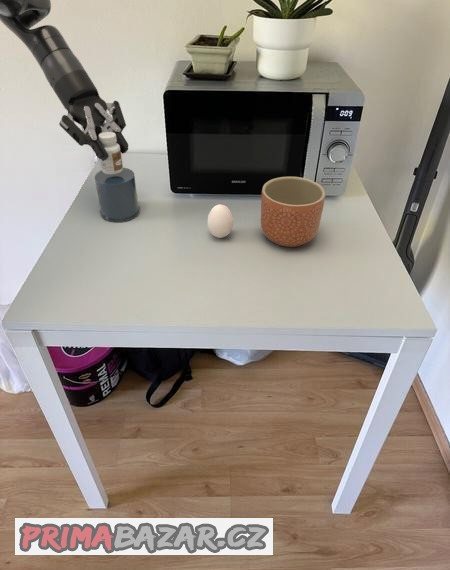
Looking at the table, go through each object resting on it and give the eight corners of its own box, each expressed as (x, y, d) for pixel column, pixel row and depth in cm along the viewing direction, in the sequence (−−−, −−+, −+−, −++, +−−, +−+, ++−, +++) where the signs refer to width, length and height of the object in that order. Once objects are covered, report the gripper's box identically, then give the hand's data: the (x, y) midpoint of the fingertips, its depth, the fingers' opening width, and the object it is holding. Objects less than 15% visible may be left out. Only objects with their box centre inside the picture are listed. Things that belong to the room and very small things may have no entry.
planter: (321, 255, 88) (330, 206, 81) (259, 253, 88) (263, 205, 81) (313, 222, 98) (320, 176, 91) (257, 221, 98) (260, 175, 91)
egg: (236, 240, 92) (237, 209, 87) (212, 245, 91) (212, 214, 86) (227, 227, 96) (227, 197, 91) (204, 232, 94) (203, 201, 90)
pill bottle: (121, 175, 92) (115, 139, 87) (100, 174, 92) (93, 138, 87) (125, 166, 96) (120, 130, 91) (104, 165, 96) (98, 130, 91)
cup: (104, 226, 96) (97, 188, 90) (96, 206, 102) (89, 170, 97) (145, 217, 99) (140, 180, 93) (134, 199, 105) (129, 163, 99)
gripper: (41, 76, 82) (92, 157, 83) (104, 62, 90) (149, 136, 92) (33, 99, 88) (81, 174, 89) (93, 84, 96) (136, 153, 98)
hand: (115, 154), depth 91 cm, fingers closed on pill bottle, 4 cm apart
